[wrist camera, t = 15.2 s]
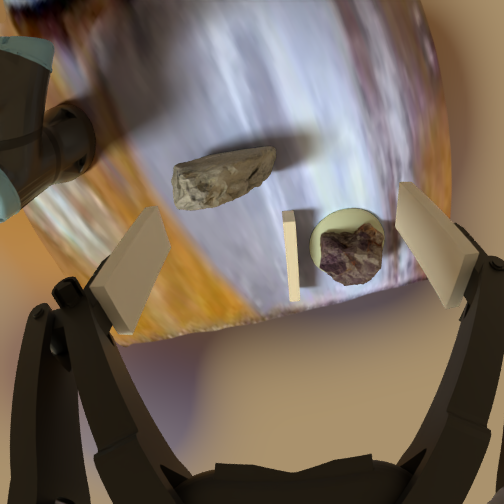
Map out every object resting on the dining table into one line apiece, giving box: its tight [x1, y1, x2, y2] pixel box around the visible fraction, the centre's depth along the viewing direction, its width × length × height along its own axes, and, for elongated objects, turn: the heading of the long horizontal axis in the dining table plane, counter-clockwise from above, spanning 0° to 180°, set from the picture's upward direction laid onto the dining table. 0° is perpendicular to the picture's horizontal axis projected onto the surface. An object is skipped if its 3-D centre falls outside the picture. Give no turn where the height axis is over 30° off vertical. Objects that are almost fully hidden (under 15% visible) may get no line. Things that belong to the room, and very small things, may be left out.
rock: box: [319, 223, 384, 286], centre depth 49 cm, size 12×9×10 cm
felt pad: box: [309, 208, 384, 273], centre depth 52 cm, size 15×15×1 cm
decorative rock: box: [171, 146, 276, 211], centre depth 39 cm, size 16×7×15 cm, turn 99°
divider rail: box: [282, 210, 300, 302], centre depth 53 cm, size 2×18×4 cm, turn 8°
